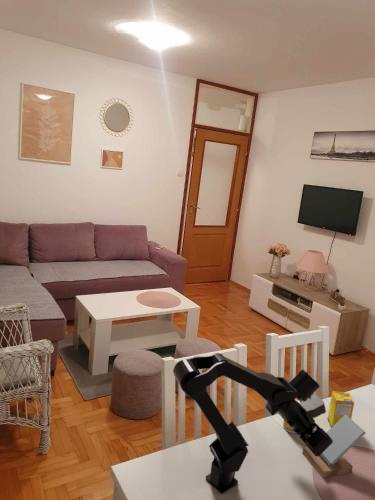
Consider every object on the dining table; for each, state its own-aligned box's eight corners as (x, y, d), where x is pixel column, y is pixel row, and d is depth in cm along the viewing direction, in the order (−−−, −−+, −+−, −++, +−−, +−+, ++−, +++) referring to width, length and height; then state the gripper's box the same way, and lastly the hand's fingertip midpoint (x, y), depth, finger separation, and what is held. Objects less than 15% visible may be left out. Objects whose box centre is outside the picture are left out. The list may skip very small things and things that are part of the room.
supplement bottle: (295, 435, 128) (300, 409, 126) (280, 428, 131) (284, 402, 129) (301, 428, 132) (306, 402, 130) (286, 421, 136) (290, 395, 134)
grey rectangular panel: (329, 465, 112) (364, 431, 114) (312, 445, 120) (345, 414, 121) (331, 467, 113) (366, 433, 114) (314, 447, 120) (346, 416, 121)
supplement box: (343, 420, 139) (349, 392, 137) (349, 431, 133) (354, 402, 131) (326, 418, 139) (332, 390, 137) (331, 428, 134) (336, 400, 131)
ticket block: (322, 477, 111) (323, 471, 111) (302, 453, 120) (303, 447, 120) (351, 472, 114) (352, 466, 114) (329, 448, 124) (330, 443, 123)
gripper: (333, 410, 101) (359, 443, 106) (292, 372, 118) (317, 403, 124) (301, 440, 99) (329, 472, 105) (265, 398, 117) (291, 427, 123)
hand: (316, 440), depth 114 cm, fingers closed
